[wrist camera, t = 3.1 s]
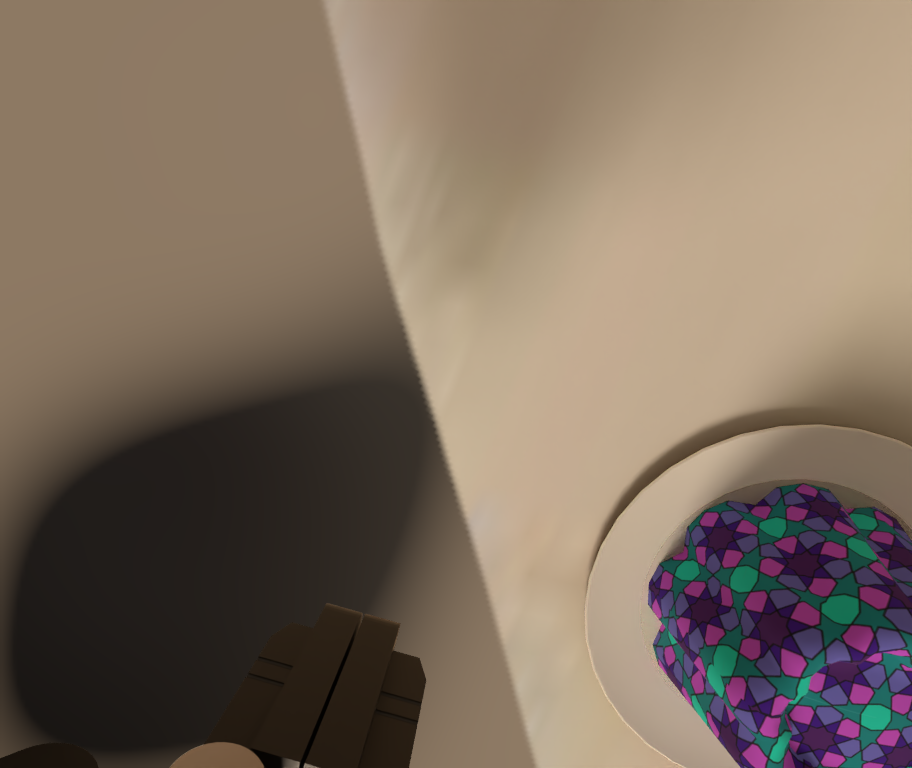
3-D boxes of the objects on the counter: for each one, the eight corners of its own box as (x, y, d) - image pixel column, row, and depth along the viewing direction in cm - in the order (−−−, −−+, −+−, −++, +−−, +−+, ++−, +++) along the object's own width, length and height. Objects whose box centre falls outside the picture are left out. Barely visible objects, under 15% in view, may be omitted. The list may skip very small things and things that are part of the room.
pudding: (633, 379, 17) (682, 431, 12) (1065, 464, 17) (1302, 557, 12) (545, 725, 20) (554, 884, 15) (913, 810, 20) (1052, 1006, 14)
